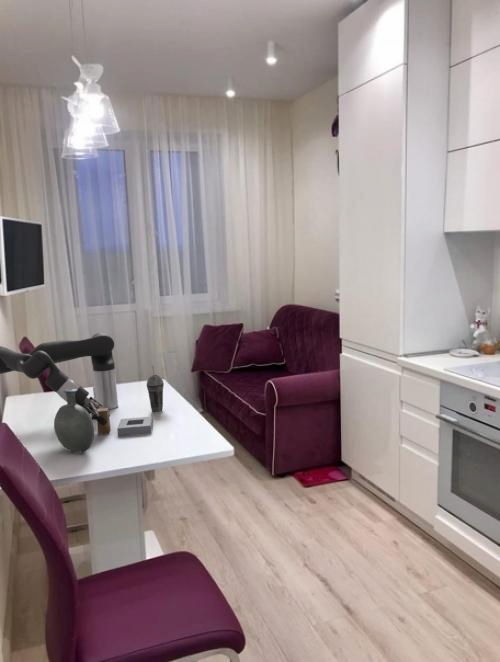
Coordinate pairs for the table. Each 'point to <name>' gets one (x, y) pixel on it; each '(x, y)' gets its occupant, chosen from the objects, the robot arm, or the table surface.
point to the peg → (106, 428)
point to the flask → (74, 425)
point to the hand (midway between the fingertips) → (107, 420)
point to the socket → (135, 426)
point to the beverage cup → (155, 392)
